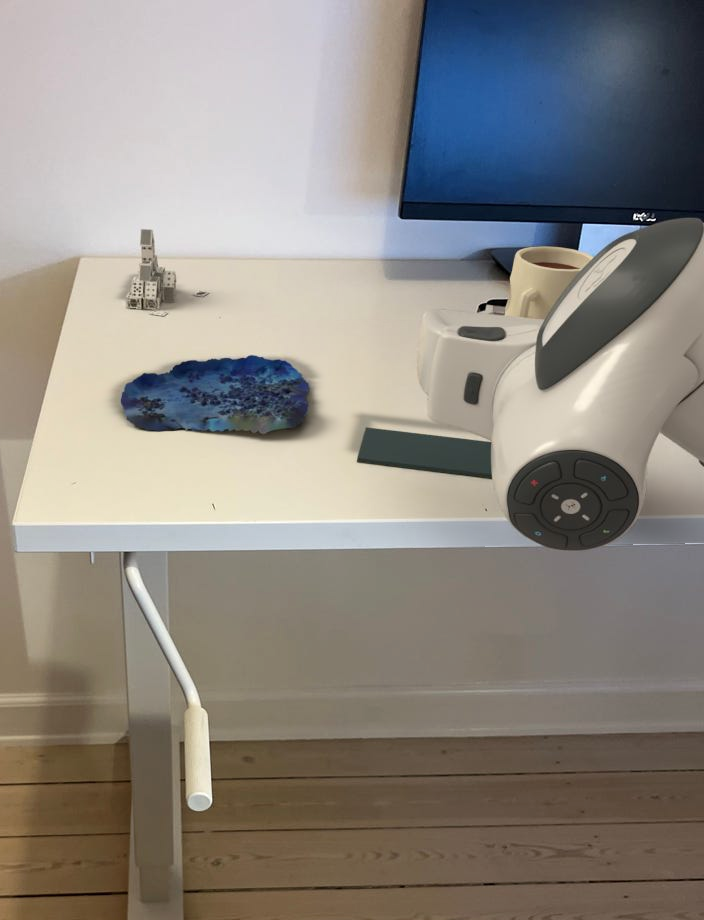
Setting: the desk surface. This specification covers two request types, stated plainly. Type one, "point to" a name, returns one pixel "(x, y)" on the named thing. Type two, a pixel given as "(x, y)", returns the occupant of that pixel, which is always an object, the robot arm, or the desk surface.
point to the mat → (426, 452)
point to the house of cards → (152, 280)
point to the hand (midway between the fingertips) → (555, 321)
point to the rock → (218, 396)
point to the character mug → (541, 279)
